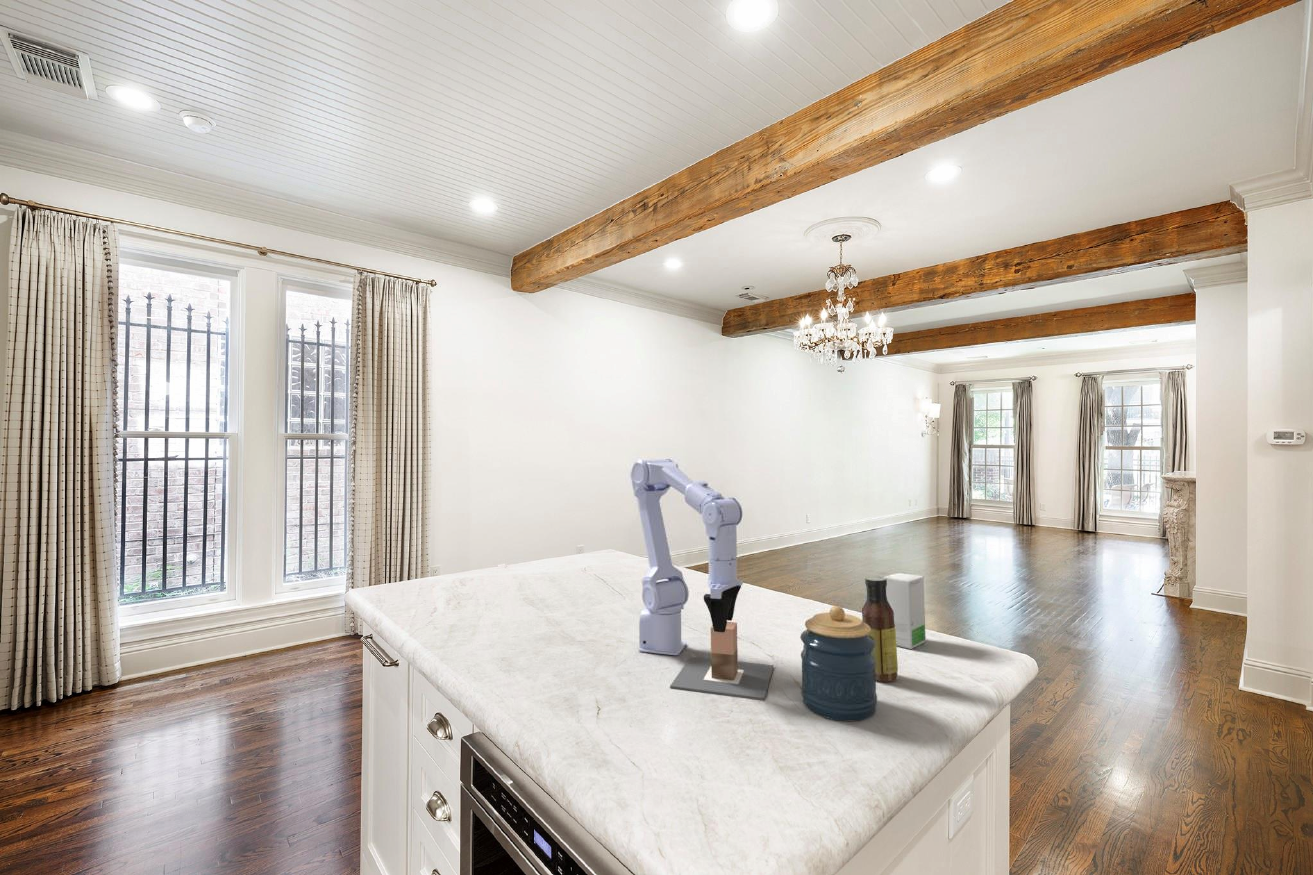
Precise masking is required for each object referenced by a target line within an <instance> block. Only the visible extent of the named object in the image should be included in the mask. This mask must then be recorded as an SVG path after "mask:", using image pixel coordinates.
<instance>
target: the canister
mask: <svg viewBox="0 0 1313 875" xmlns="http://www.w3.org/2000/svg"><path fill="white" fill-rule="evenodd" d="M804 625H805V627H806V629H805V630H804V631H802V632H801V634H800V637H799V638H800V640H801V642H802V643H803V649H802V650H801V653H800V658H801V686H800V689H801V691H800V693H801V697H802V702H803V705H804V706H805V707H806V708H807V709H808V710H810V712H812V713H814V714H816V715H818V716H821V717H824V718H827V719H830V720H836V721H846V722H854V721H855V722H856V721H862V720H866V719H868V718H870V717H872V716H873V715H875V713H876V710H877V709H876V708H877V706H878V695H877V683H876V682H877V681H876V659H875V658H874V656H873V649H874V648H875V647H876V641H875V640H874V639H873V638H872V637H871V636H870V635H869V633H870V632H871V628H870V626H869V625H867V624H866V623H864V622H863V620H862V619H861V618H860V617H858V616H855V615H852V614H848V613H845V610H844V609H843V607H841V606H840V605H839V606H838V605H834V606H832V607H831V608H830V610H829V612H821V613H817V614H815V615H813V616H812V617H811V618H809V619H807V620H806V621H805V623H804Z"/></svg>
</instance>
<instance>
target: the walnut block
mask: <svg viewBox="0 0 1313 875" xmlns="http://www.w3.org/2000/svg"><path fill="white" fill-rule="evenodd" d="M738 649H739V648H737V649H736V651H735V653H734V655H729V654H719V653H711V652H710V654H711V655H710V658H711V669H712V678H717V679H725V680H734V679H735V677H736V675H737V672H738V661H739V660H738V657H739V656H738V655H739V654H738Z"/></svg>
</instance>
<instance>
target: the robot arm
mask: <svg viewBox="0 0 1313 875" xmlns="http://www.w3.org/2000/svg"><path fill="white" fill-rule="evenodd" d="M632 465H633V466H632V467H631V471H630V474H629V475H630V479H631V485H632V490H633V495H634V497H635V498H636V501H637V507H638V512H639V517H640V522H641V527H642V528H641V529H642V532H643V538H644V545H645V550H646V554H647V560H648V564H649V570H648V572H647V573H646V574H645V575H644V577H643V578H642V579H641V583H642V592H641V593H642V594H641V597H642V598H641V599H642V603H643V605H644V608H643V609H642V610H641V612H640V616H639V623H638V624H639V626H638V628H639V629H638V630H639V631H638V632H639V636H638V637H639V648H638V652H642V653H643V652H644V653H652V654H662V655H671V656H679V655H680V653H681V652H682V651H683V649H684V648H685V647H686V646H687V641H683V640H682V610H684V607H685V605H686V604H687V602H688V599H689V596H690V594H689V593H690V591H689V587H688V585H687V583H686V581H685V579H684V576H683V572H682V571H681V570H680V569H678V568H677V567H675V566H674V565H673V562H672V558H671V553H670V548H669V544H668V538H667V534H666V528H665V524H664V523H665V522H664V518H663V513H662V508H661V507H662V506H661V502H660V500H661V499H662V496H665V495H666V493H668V491H669V490H670V488H673V489H675V490H676V491H678V492H679V493H680V494H682V495H683V496H684V501H685V503H686V504H687V505H688V506H690V507H691V508H692V509H693V510H694V511H696V512H697V513H698V514H700V515H701V519H702V522H703V524H704V525H705V526H704V527H705V534H706V536H707V538H708V545H707V546H708V579H707V585H708V586H709V590H710V591H709V592H710V593H705V594H704V595H703V602H704V603H705V605H706V607H707V610H708V611H709V615H710V620H711V626H712V625H713V629H714V631H715V632H725V630H726V625H727V622H733V618H734V612H735V607H736V601H737V599H738V598H737V597H738V595H739V593H740V590H741V589H742V586H743V584H744V580H743V579H738V559H737V558H738V553H737V552H738V551H737V549H738V547H737V546H738V545H737V543H738V541H737V540H738V539H737V526H738V525H739V524H741V522H742V520H743V508H742V505H741V504H740V502H739V501H738V500H737V498H736V497H732V496H730V497H727V498H726V497H724V496H722V493H721V492H719V491H715V490H714V489H713V488H711V487H710V486H709V485H708V484H709V483H708V482H707V481H705V480H702V481H700V480H699V481H695V482H694V481H693V480H692V479H691V478H690V477H689V476H688V475H686V474H685V473H684V471H682V470H681V469H680V468H679V464H678V463H677V462H676V461H674V460H673V459H671V458H667V459H637V460H635V461H634V463H633V464H632ZM661 580H662V581H661Z"/></svg>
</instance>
